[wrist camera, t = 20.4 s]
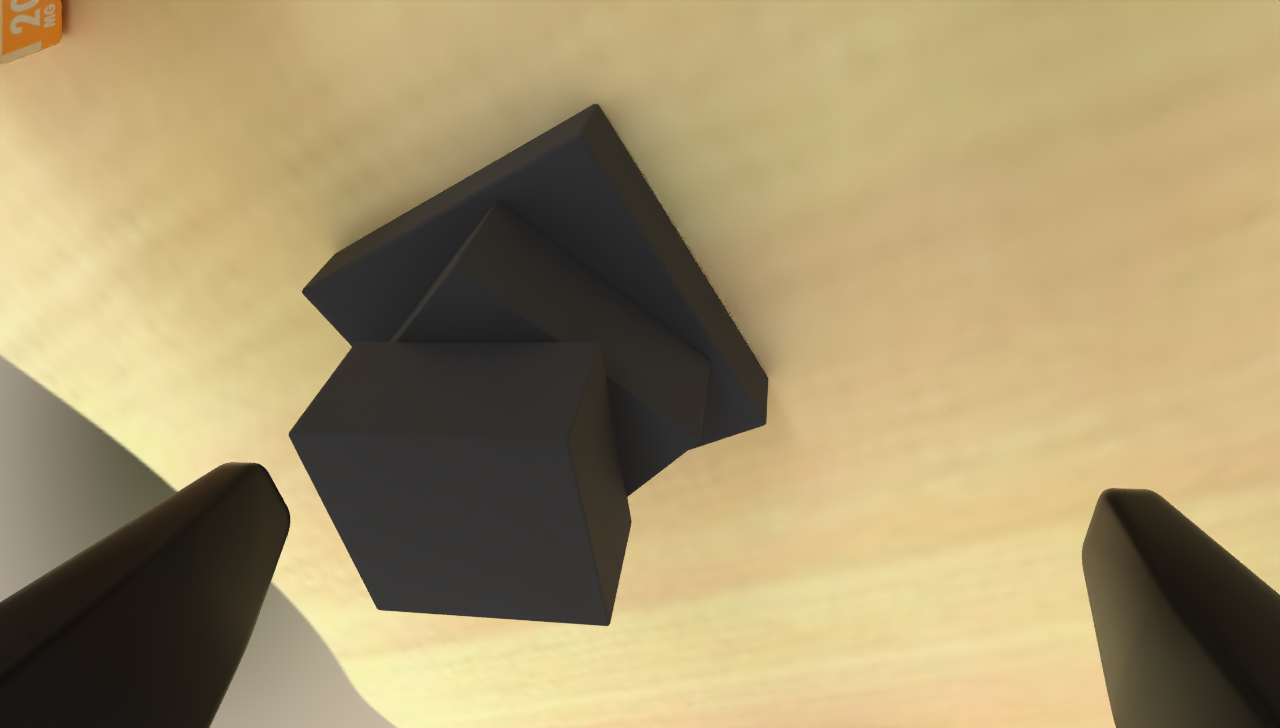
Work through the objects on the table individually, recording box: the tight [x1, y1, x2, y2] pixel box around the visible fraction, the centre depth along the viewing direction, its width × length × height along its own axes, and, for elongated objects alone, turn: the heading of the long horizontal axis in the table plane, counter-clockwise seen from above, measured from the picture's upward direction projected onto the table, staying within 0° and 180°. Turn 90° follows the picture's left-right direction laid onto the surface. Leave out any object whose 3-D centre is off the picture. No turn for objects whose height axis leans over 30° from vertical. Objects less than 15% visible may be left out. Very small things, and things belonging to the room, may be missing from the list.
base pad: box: [302, 104, 768, 450], centre depth 21 cm, size 9×9×2 cm
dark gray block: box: [289, 342, 631, 626], centre depth 17 cm, size 6×6×3 cm
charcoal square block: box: [389, 200, 711, 497], centre depth 19 cm, size 6×6×3 cm
